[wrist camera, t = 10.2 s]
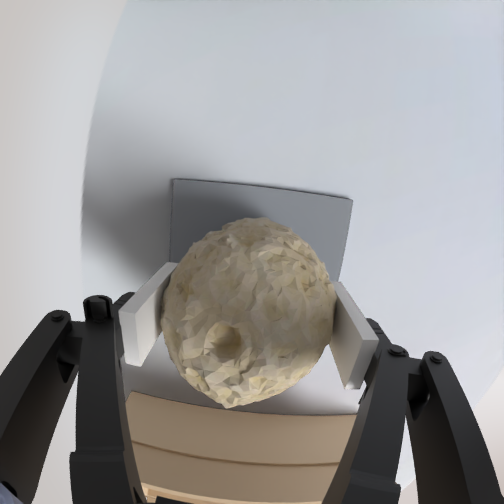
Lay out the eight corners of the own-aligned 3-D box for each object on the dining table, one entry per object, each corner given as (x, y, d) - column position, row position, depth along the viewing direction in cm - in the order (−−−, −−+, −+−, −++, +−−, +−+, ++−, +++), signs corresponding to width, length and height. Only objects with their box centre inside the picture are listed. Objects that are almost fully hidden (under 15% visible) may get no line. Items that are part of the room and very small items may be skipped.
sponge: (189, 263, 21) (136, 385, 15) (209, 160, 14) (105, 335, 8) (301, 305, 22) (276, 430, 15) (370, 225, 15) (368, 416, 8)
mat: (175, 179, 18) (173, 179, 18) (351, 199, 18) (353, 200, 18) (171, 332, 22) (170, 335, 21) (319, 349, 21) (320, 352, 21)
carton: (128, 372, 23) (77, 460, 12) (378, 396, 23) (414, 486, 12) (153, 470, 29) (134, 530, 18) (322, 486, 29) (330, 547, 18)
